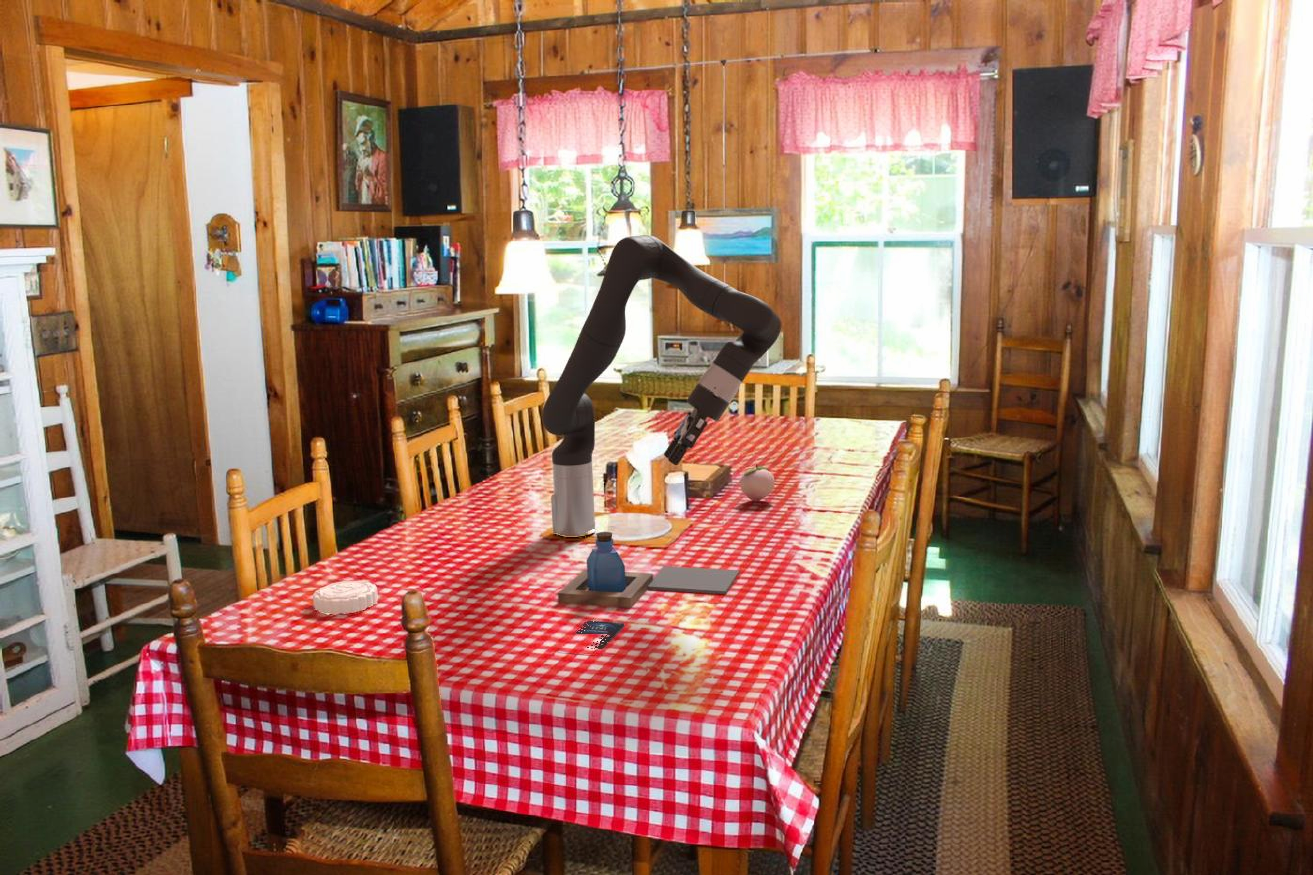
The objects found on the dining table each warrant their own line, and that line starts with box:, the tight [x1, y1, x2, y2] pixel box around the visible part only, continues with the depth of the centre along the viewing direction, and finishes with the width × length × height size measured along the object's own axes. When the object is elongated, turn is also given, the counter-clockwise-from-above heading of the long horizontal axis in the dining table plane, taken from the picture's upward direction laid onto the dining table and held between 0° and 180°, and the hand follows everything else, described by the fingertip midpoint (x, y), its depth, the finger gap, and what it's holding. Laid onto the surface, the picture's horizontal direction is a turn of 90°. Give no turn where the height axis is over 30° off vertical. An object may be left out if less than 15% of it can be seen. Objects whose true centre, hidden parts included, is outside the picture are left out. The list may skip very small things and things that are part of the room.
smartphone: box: [573, 620, 625, 650], centre depth 186 cm, size 8×1×15 cm
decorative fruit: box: [739, 463, 775, 503], centre depth 273 cm, size 9×8×10 cm
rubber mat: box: [648, 565, 740, 595], centre depth 214 cm, size 16×13×1 cm
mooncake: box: [312, 580, 379, 614], centre depth 207 cm, size 12×12×4 cm
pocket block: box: [557, 569, 654, 609], centre depth 209 cm, size 15×15×2 cm
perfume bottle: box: [586, 531, 627, 593], centre depth 208 cm, size 6×6×12 cm
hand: (669, 460), depth 212 cm, fingers open, 8 cm apart
